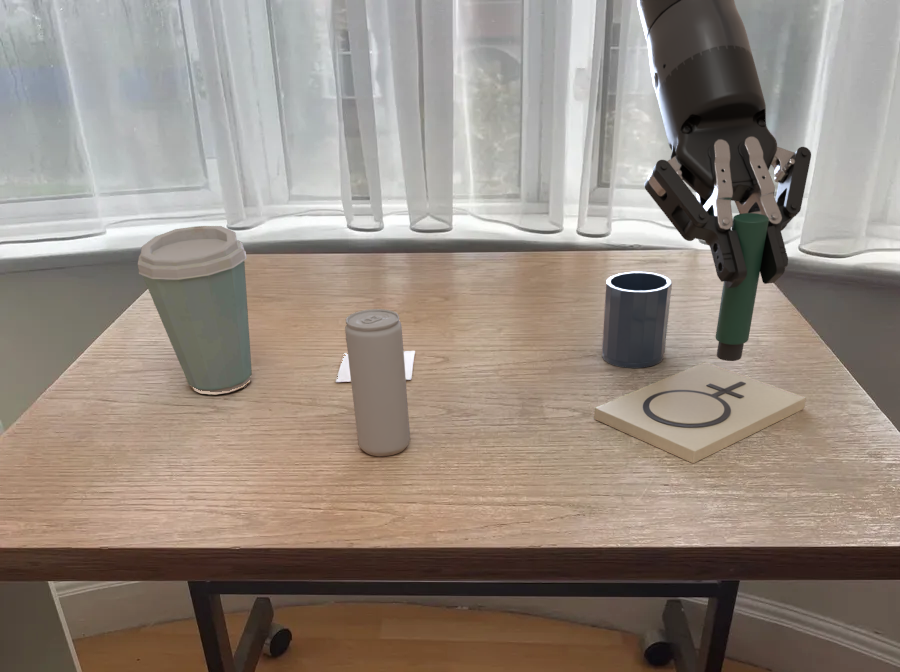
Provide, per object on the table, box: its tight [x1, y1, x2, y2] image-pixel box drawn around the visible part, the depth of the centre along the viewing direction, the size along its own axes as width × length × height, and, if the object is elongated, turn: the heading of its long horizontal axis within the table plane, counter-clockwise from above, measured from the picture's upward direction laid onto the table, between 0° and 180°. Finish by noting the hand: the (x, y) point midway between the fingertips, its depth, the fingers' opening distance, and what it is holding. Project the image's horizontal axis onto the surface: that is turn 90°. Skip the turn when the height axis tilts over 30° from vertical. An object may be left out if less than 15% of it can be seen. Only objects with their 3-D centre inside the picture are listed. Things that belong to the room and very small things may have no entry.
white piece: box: [335, 350, 416, 383], centre depth 98 cm, size 8×8×1 cm
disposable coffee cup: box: [137, 225, 253, 392], centre depth 91 cm, size 11×11×15 cm
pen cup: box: [601, 271, 673, 369], centre depth 95 cm, size 7×7×8 cm
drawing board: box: [593, 361, 807, 464], centre depth 85 cm, size 16×12×1 cm
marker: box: [715, 213, 769, 362], centre depth 71 cm, size 3×3×11 cm
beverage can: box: [344, 308, 411, 457], centre depth 79 cm, size 5×5×12 cm
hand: (756, 279), depth 69 cm, fingers closed on marker, 2 cm apart
